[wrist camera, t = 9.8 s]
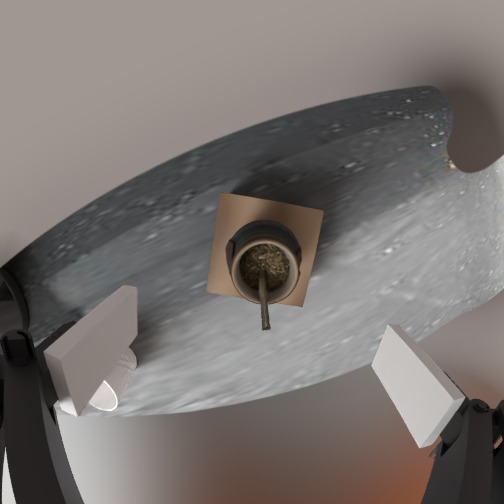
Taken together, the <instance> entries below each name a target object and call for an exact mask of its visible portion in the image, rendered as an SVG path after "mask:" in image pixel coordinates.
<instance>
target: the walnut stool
mask: <svg viewBox="0 0 504 504" xmlns="http://www.w3.org/2000/svg"><path fill="white" fill-rule="evenodd" d="M323 214H324V211H322V210H318V209H313V208H308V207H303V206H298V205H293V204H288V203H283V202H277V201H272V200H266V199H260V198H254V197H249V196H242V195H236V194H230V193H224V192H221V193H220V199H219V205H218V211H217V218H216V225H215V231H214V238H213V245H212V252H211V260H210V267H209V275H208V283H207V291H206V292H211V293H217V294H222V295H228V296H234V297H240V298H244V297H242V296H241V295H240V294H239V293H238V291H237V290H236V288H235V287H234V285H233V282H232V279H231V276H230V274H229V269H228V266H227V261H226V252H225V248H226V245H227V243H228V241H229V239H231V238H232V237H233V235H234V234H235V233H236V232H237V231H238V230H239V229H240V228H241V227H242V226H244V225H246V224H247V223H250V222H253V221H256V220H272V221H276V222H279V223H281V224H283V225H284V226H286V227H287V228H288V229H290V230H291V231H292V232H293V234H294V235H295V237H296V239H297V240H298V243H299V245H300V246H301V250H302V254H301V256H302V262H301V265H300V268H299V270H300V273H301V274H300V277H299V281H298V283H297V285H296V287H295V289H294V290H293V292H292V293H291V294H290V295H289V296H288V297H287V298H285V299H284V300H282V301H279V302H277V303H278V304H285V305H292V306H299V307H303V303H304V299H305V295H306V291H307V287H308V283H309V279H310V275H311V270H312V266H313V262H314V257H315V253H316V248H317V243H318V239H319V234H320V229H321V224H322V219H323Z"/></svg>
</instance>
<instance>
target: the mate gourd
mask: <svg viewBox="0 0 504 504" xmlns="http://www.w3.org/2000/svg"><path fill="white" fill-rule="evenodd" d="M225 252H226V261H227V266H228V269H229V274H230V276H231V279H232V282H233V285H234V287H235V288H236V290H237V291H238V293H239V294H240V295H241V296H242V297H244V298H245V299H247V300H248V301H250V302H253V303H256V304H261V311H262V312H261V315H262V316H261V318H262V330H270V329H271V328H270V324H269V314H268V305H267V304H273V303H277V302H279V301H282V300H284V299H285V298H287V297H288V296H289V295H290V294H291V293H292V292H293V290H294V289H295V287H296V285H297V283H298V281H299V277H300V274H301V273H300V270H299V268H300V265H301V262H302V256H301V254H302V250H301V246H300V245H299V243H298V240H297V239H296V237H295V235H294V234H293V232H292V231H291V230H290V229H288V228H287V227H286V226H284V225H283V224H281V223H279V222H276V221H272V220H256V221H253V222H250V223H247V224H246V225H244V226H242V227H241V228H240V229H239V230H238V231H237V232H236V233H235V234H234V235H233V237H232V238H231V239H229V241H228V243H227V245H226V248H225Z"/></svg>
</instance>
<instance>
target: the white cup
mask: <svg viewBox="0 0 504 504" xmlns="http://www.w3.org/2000/svg"><path fill="white" fill-rule="evenodd" d="M136 366H137V359H136V356H135V354H134V353H133V351H132V350H131V349H130V348H129V347H128V348H127V350H126V351H125V352H124V354H123V355H122V356H121V358H120V359H119V360H118V362H117V363H116V365H115V366H114V367H113V369H112V370H111V371H110V373H109V374H108V376H107V377H106V378H105V380H104V381H103V383H102V384H101V385H100V387H99V388H98V390H97V391H96V392H95V394H94V395H93V397H92V398H91V400H90V401H89V402H88V403H89V404H91V405H92V406H94V407H96V408H98V409H101V410H106V411H110V410H114V409H115V408H116V407H117V405H118V403H119V401H120V399H121V397H122V395H123V393H124V391H125V389H126V387H127V386H128V384H129V381H130V379H131V377H132V374H133V372H134V370H135V368H136Z"/></svg>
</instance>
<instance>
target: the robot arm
mask: <svg viewBox="0 0 504 504" xmlns="http://www.w3.org/2000/svg"><path fill="white" fill-rule="evenodd" d="M28 324H29V318H28V311H27V307H26V303H25V300H24V297H23V295H22V293H21V290H20V288H19V286H18V285H17V283H16V281H15V280H14V279H13V277H12V276H11V275H10V274H9V273H8V272H7V271H6V270H4V269H2V268H0V343H1V347H2V350H3V353H4V355H0V504H2V475H3V463H4V454H5V447H6V453H7V461H8V468H9V473H10V479H11V484H12V488H13V493H14V497H15V500H16V504H84V502H83V500H82V497H81V495H80V492H79V490H78V487H77V485H76V482H75V480H74V477H73V474H72V471H71V468H70V465H69V462H68V459H67V455H66V452H65V449H64V445H63V441H62V438H61V434H60V430H59V425H58V421H57V416H56V411H55V408H54V406H53V405H54V404H55V403H56V401H57V400H59V403H60V406H61V408H62V410H64V411H66V412H68V413H70V414H72V415H74V416H76V417H79V416H80V414H81V413H82V411H83V410H84V408H85V407H86V405H87V404H88V402H89V401H90V400H91V398H92V397H93V395H94V394H95V392H96V391H97V390H98V388H99V387H100V385H101V384H102V383H103V381H104V380H105V378H106V377H107V376H108V374H109V373H110V371H111V370H112V369H113V367H114V366H115V365H116V363H117V362H118V360H119V359H120V358H121V356H122V355H123V354H124V352H125V351H126V350H127V348H128V347H129V346H130V344H131V343H132V342H133V340H134V339H135V338H136V336H137V335H138V331H137V288H136V287H132V286H127V285H123V286H122V287H120V288H119V289H118V290H117V291H115V292H114V293H113V294H112V295H110V296H109V297H108V298H107V299H105V300H104V301H103V302H102V303H100V304H99V305H98V306H97V307H95V308H94V309H93V310H92V311H90V312H89V313H88V314H87V315H86V316H84V317H83V318H82V319H81V320H80V321H78V322H75V321H72V322H69V323H66V324H64V325H62V326H61V327H60V328H58V329H57V330H56V332H54V333H52V334H51V336H49V337H47V338H46V339H45V340H44V341H43V342H41V343H40V344H39V345H38V346H37V347H35V348H34V344H33V340H32V336H31V334H30V333H29V332H28V331H27V329H28ZM372 368H373V369H374V371H375V372H376V374H377V376H378V377H379V379H380V381H381V382H382V384H383V386H384V387H385V389H386V391H387V392H388V394H389V396H390V398H391V399H392V401H393V403H394V404H395V406H396V408H397V410H398V411H399V413H400V415H401V416H402V418H403V420H404V422H405V423H406V425H407V427H408V429H409V430H410V432H411V434H412V435H413V437H414V439H415V441H416V443H417V445H418V447H419V448H422V447H425V446H429V445H432V444H433V443H434V441H435V440H436V439H437V438H438V436H439V435H440V436H441V438H442V441H441V442H440V443H439V444H438V445H437V447H436V448H435V449H434V450H433V451H432V453H431V454H430V455H429V457H431V456H432V455H433V454H434V453H436V456H435V457H434V459H435V460H434V464H433V468H432V471H431V475H430V478H429V481H428V484H427V488H426V490H425V493H424V496H423V499H422V502H421V504H504V400H502V401H501V402H500V403H499V405H498V406H497V408H496V409H490V407H489V406H488V404H486V403H485V402H484V401H482V400H480V399H472V400H471V401H470V400H469V399H468V397H467V396H466V395H465V394H464V393H463V392H462V391H461V390H460V389H459V387H458V386H457V385H455V383H454V382H453V381H452V380H451V378H450V377H449V376H448V375H447V374H446V373H445V372H444V371H442V370H441V369H440V368H439V367H438V365H437V364H436V363H435V362H434V361H433V360H432V359H431V358H430V357H429V356H428V355H427V354H426V353H425V352H424V351H423V350H422V348H421V347H420V346H419V345H418V344H417V343H416V342H415V341H414V340H413V339H412V338H411V337H410V336H409V335H408V334H407V333H406V332H405V331H404V330H403V329H402V328H401V327H400V325H395V324H388V325H387V328H386V330H385V333H384V336H383V338H382V341H381V343H380V346H379V348H378V351H377V353H376V356H375V358H374V360H373V363H372ZM501 436H502V439H503V441H502V442H501V443H500V445H499V446H498V447H497V448H496V449H495V448H494V445H495V444H496V442H497V441H498V440H499V438H500V437H501Z"/></svg>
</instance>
